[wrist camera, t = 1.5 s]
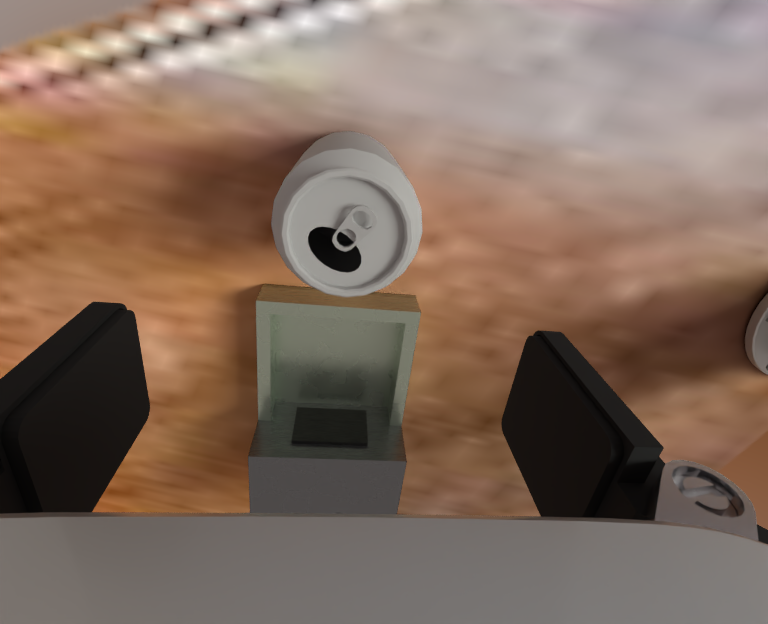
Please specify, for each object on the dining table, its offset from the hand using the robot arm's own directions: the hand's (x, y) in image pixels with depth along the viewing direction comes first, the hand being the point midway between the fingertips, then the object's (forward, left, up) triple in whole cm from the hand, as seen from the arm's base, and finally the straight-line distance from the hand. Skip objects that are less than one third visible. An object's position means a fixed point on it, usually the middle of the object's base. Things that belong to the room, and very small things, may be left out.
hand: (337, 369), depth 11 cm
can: (0, 0, -23) cm, 23 cm away
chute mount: (0, +17, -22) cm, 29 cm away
